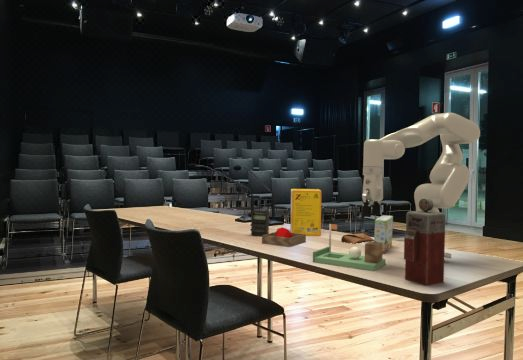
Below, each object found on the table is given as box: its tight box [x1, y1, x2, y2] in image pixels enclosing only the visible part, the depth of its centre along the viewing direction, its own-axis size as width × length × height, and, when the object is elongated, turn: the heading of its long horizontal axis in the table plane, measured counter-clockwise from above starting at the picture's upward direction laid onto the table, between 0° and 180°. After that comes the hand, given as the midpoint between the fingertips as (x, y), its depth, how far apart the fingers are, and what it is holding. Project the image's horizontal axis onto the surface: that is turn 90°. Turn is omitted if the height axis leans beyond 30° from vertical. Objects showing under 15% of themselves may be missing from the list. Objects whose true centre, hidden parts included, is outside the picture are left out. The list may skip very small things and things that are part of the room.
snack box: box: [373, 214, 394, 255], centre depth 198 cm, size 21×6×15 cm, turn 155°
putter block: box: [364, 241, 384, 264], centre depth 164 cm, size 5×6×7 cm
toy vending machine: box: [403, 198, 446, 286], centre depth 143 cm, size 9×11×28 cm
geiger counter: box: [250, 207, 270, 238], centre depth 232 cm, size 10×4×15 cm, turn 72°
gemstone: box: [275, 227, 292, 238], centre depth 211 cm, size 9×9×10 cm
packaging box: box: [289, 188, 322, 237], centre depth 242 cm, size 16×16×25 cm
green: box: [312, 223, 386, 272], centre depth 170 cm, size 25×14×14 cm, turn 56°
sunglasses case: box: [340, 232, 374, 245], centre depth 219 cm, size 18×7×7 cm
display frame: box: [261, 231, 307, 248], centre depth 213 cm, size 16×16×4 cm
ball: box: [348, 246, 362, 259], centre depth 168 cm, size 5×5×5 cm
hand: (371, 215), depth 165 cm, fingers open, 9 cm apart
